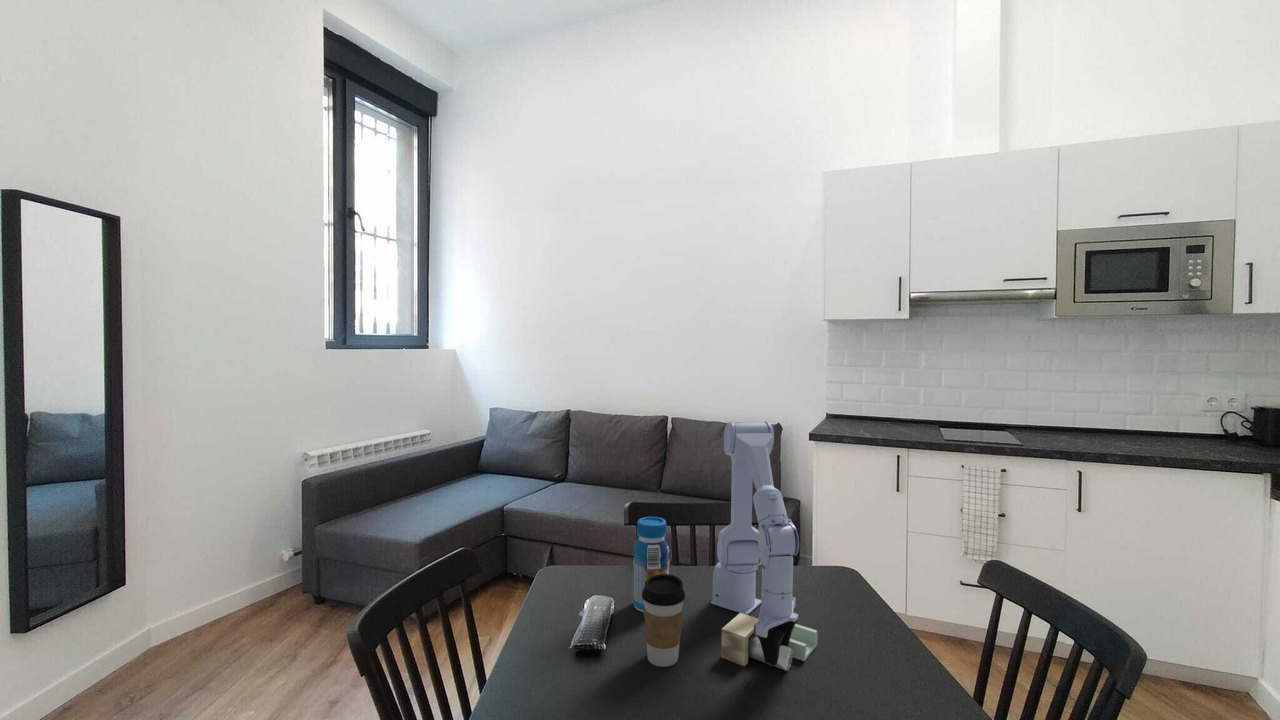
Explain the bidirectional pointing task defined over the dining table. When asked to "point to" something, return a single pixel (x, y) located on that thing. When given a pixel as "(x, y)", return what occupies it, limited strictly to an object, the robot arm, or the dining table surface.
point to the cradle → (802, 641)
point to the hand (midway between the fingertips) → (775, 657)
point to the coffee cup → (663, 618)
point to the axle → (757, 653)
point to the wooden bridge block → (737, 638)
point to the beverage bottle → (649, 555)
